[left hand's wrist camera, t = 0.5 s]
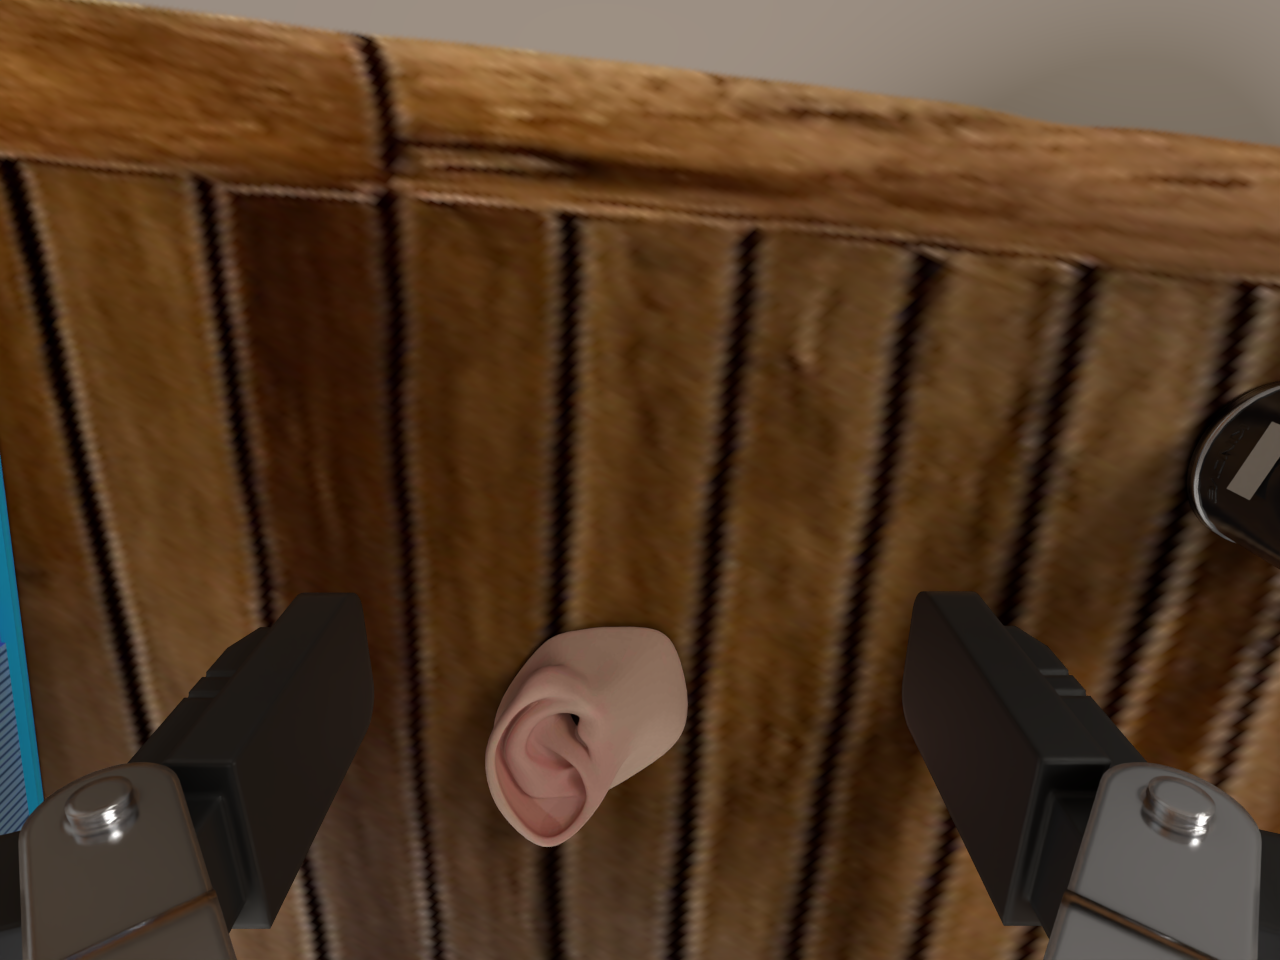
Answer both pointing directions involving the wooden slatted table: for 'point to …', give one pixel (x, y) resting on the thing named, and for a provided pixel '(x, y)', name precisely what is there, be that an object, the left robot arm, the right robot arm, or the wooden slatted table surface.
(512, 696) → the anatomical model
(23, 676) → the model building
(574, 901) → the wooden slatted table surface
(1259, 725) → the wooden slatted table surface
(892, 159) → the wooden slatted table surface
